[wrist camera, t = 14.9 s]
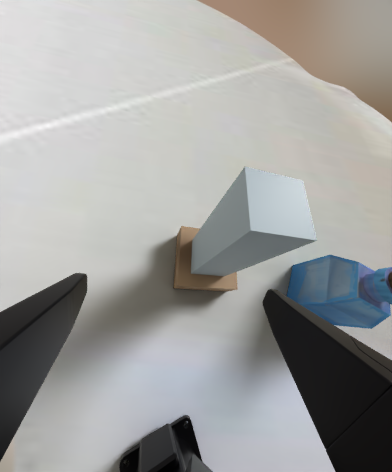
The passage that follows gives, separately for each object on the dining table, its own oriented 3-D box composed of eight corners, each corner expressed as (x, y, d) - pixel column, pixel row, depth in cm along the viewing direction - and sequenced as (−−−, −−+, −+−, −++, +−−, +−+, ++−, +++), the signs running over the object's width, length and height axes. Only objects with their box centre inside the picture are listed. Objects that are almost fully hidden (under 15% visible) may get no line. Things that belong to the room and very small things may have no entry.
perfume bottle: (322, 323, 25) (452, 336, 15) (285, 304, 25) (391, 301, 14) (326, 283, 28) (438, 269, 17) (292, 265, 28) (386, 238, 17)
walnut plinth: (226, 291, 23) (237, 289, 21) (173, 288, 22) (177, 285, 19) (225, 241, 26) (234, 233, 23) (177, 235, 24) (181, 226, 22)
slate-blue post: (224, 276, 21) (317, 240, 10) (190, 273, 20) (250, 230, 9) (223, 243, 22) (302, 180, 11) (192, 240, 22) (244, 166, 10)
